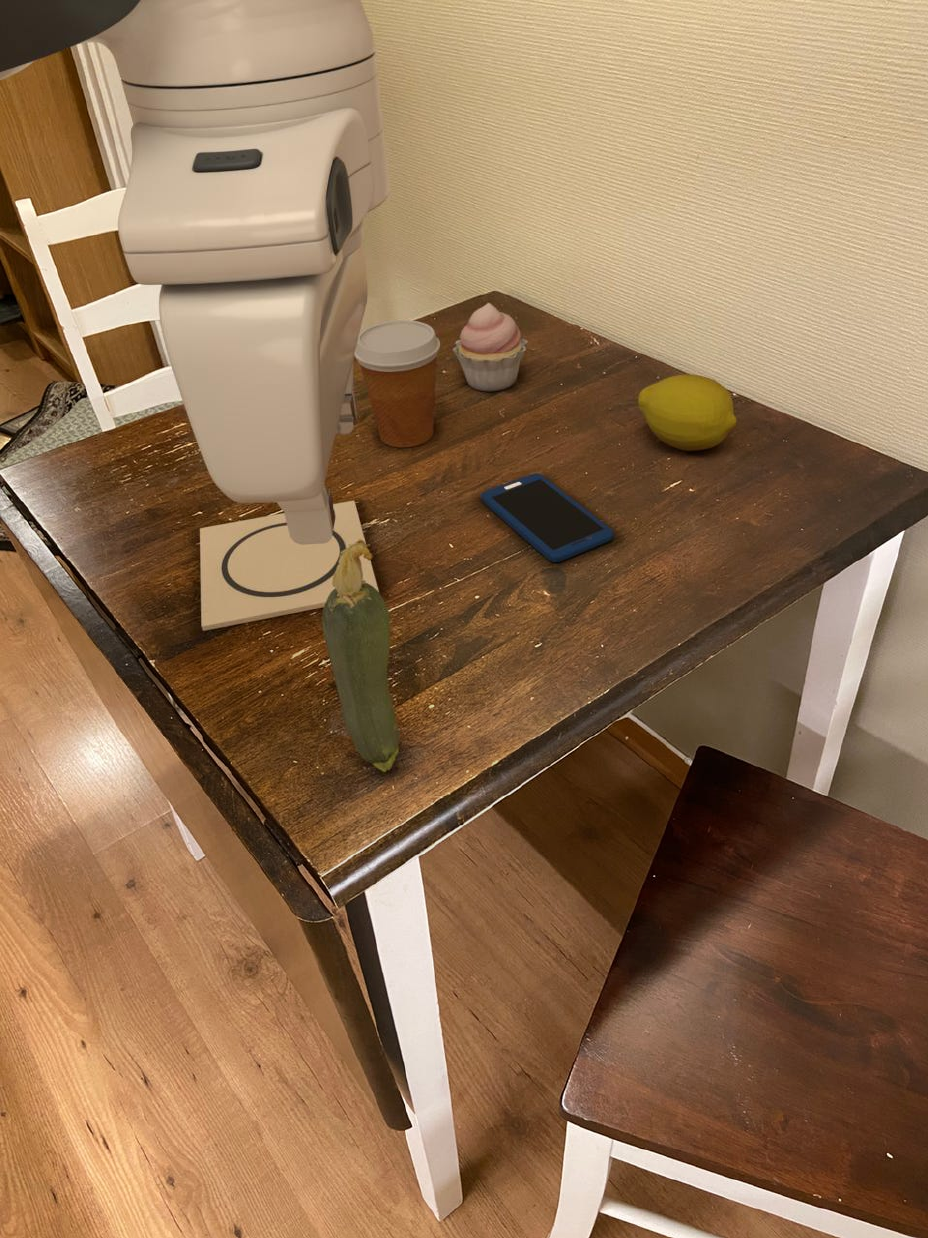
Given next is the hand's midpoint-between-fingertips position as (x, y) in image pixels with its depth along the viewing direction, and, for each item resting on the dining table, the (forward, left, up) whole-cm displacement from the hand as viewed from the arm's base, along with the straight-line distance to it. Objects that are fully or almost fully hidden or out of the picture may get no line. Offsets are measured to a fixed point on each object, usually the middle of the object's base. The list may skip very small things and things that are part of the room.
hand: (328, 476), depth 42 cm
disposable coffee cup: (+11, +56, -29) cm, 64 cm away
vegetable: (0, +8, -29) cm, 30 cm away
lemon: (+40, +43, -29) cm, 65 cm away
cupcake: (+24, +66, -29) cm, 76 cm away
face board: (-5, +35, -29) cm, 45 cm away
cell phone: (+21, +34, -29) cm, 49 cm away
